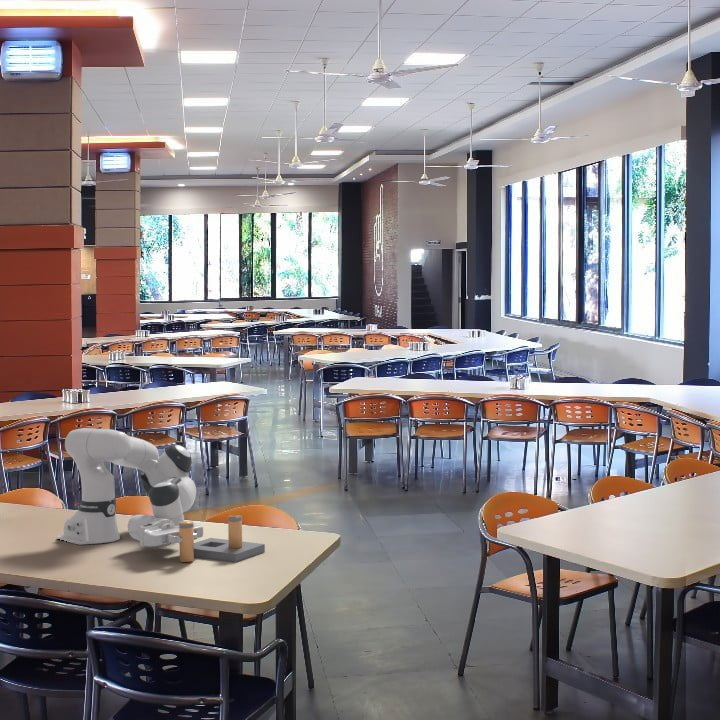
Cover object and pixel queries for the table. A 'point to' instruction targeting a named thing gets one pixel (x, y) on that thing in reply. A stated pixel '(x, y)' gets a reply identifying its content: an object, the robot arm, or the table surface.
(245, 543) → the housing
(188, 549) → the orange banded cylinder
